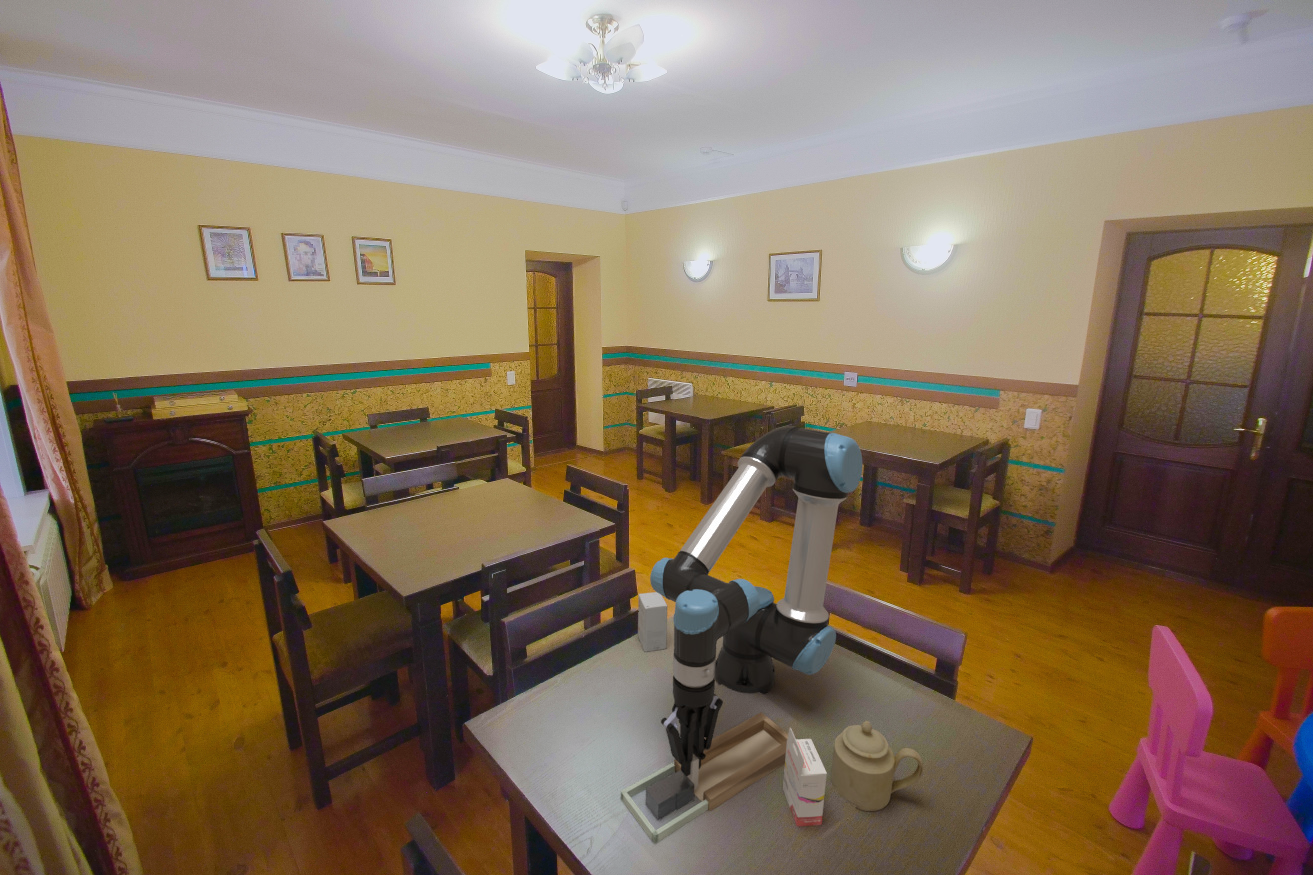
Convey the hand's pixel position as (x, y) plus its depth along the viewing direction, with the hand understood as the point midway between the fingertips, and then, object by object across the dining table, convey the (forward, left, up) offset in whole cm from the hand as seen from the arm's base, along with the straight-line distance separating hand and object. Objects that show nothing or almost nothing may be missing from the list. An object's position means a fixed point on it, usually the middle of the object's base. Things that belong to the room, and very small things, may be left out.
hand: (690, 784), depth 106 cm
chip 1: (0, -7, -2) cm, 7 cm away
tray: (-1, -6, -2) cm, 6 cm away
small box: (-45, +22, -3) cm, 50 cm away
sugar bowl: (+18, +30, -3) cm, 35 cm away
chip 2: (0, -3, -2) cm, 3 cm away
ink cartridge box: (+14, +15, -3) cm, 21 cm away
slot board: (0, +12, -2) cm, 13 cm away
